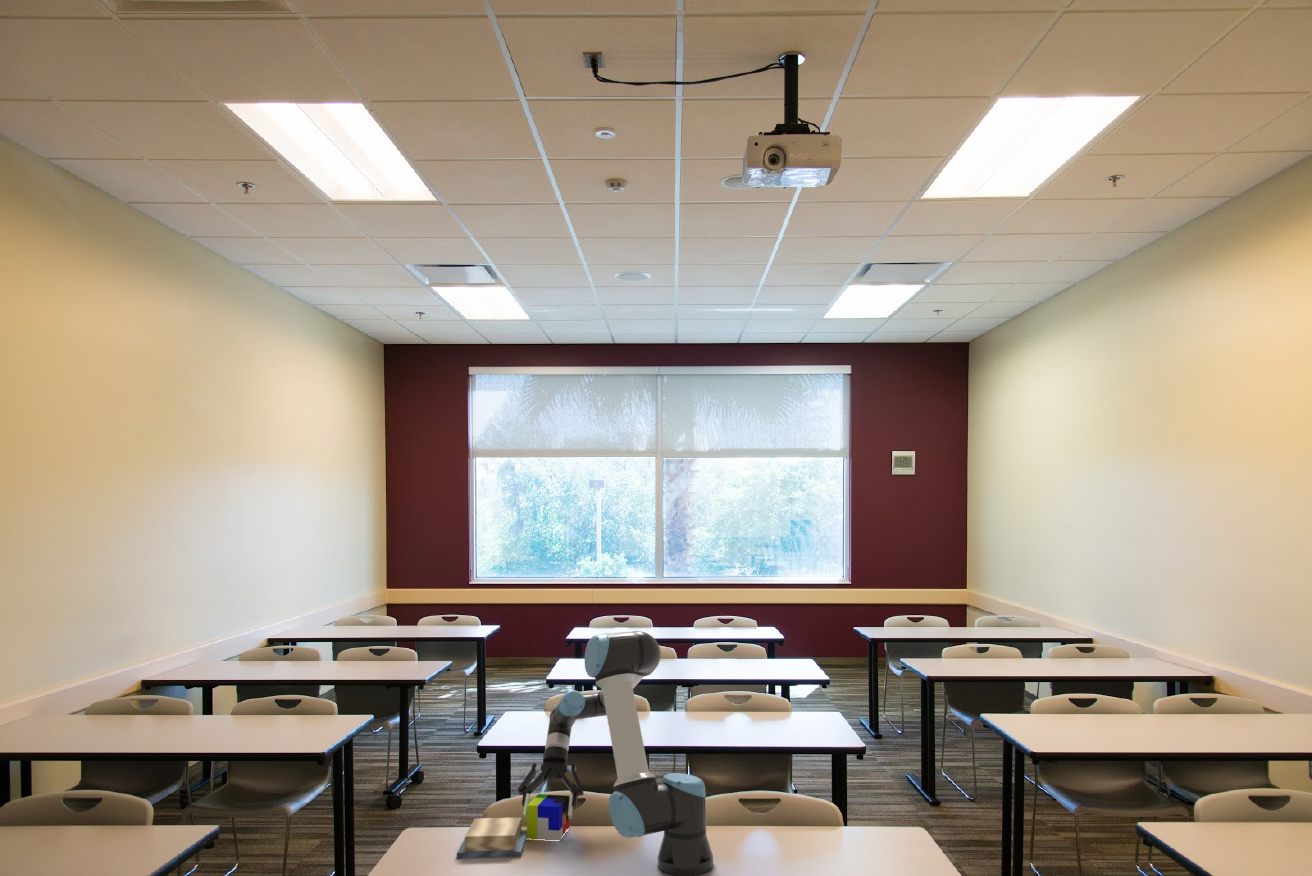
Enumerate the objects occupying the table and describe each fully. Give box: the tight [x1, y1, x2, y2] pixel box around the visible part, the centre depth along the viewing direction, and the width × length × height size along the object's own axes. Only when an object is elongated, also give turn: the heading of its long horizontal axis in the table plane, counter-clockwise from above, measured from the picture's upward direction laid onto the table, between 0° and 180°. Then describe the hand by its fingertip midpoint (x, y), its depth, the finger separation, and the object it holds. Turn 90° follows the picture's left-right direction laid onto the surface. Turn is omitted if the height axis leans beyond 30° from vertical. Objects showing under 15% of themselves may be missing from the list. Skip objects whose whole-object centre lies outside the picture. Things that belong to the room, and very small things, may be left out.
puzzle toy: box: [526, 793, 570, 840], centre depth 242 cm, size 10×10×10 cm
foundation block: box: [456, 817, 527, 860], centre depth 234 cm, size 18×16×6 cm
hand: (547, 816), depth 241 cm, fingers open, 13 cm apart
